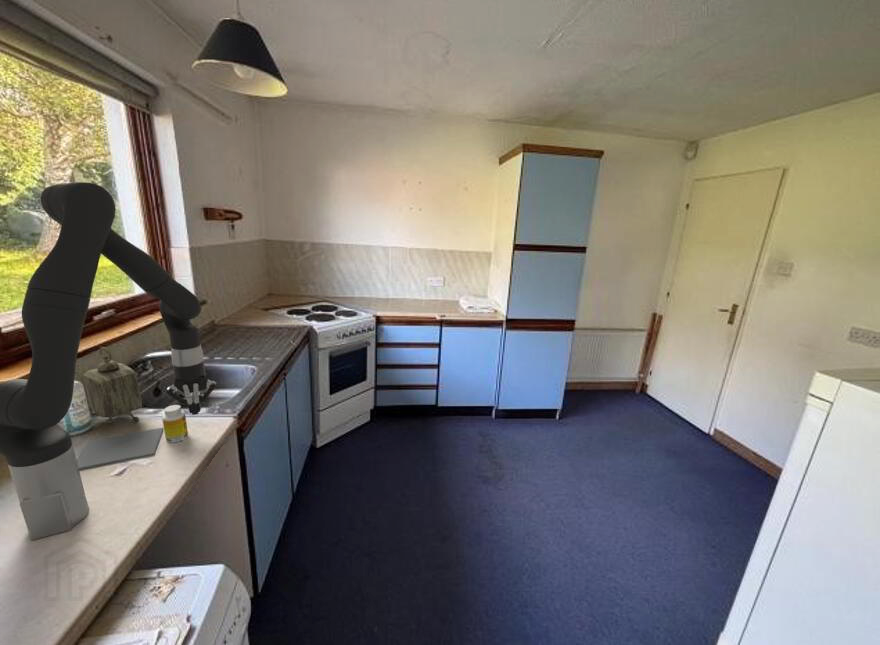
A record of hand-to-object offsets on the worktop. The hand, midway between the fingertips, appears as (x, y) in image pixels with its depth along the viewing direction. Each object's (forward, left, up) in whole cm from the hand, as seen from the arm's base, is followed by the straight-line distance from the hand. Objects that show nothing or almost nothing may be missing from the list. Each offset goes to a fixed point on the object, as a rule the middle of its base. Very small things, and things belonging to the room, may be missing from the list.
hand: (195, 413), depth 111 cm
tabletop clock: (+18, +23, -8) cm, 31 cm away
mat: (0, +19, -7) cm, 20 cm away
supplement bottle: (0, +5, -8) cm, 9 cm away
